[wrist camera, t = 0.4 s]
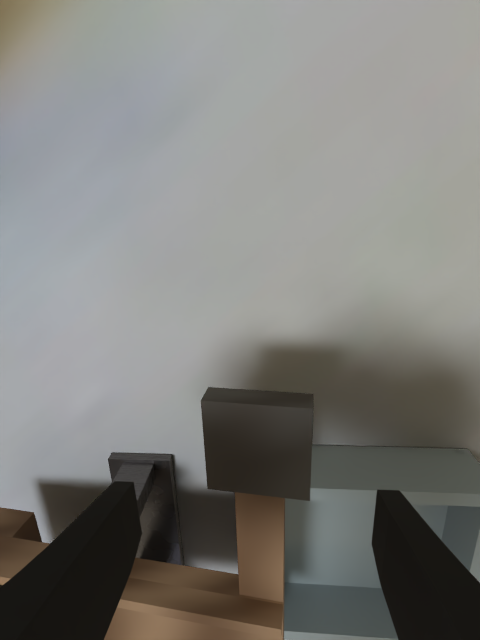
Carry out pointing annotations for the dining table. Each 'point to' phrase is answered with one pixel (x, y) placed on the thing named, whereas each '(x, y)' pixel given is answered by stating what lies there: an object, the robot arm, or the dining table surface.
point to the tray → (368, 533)
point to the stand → (152, 503)
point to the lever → (251, 526)
